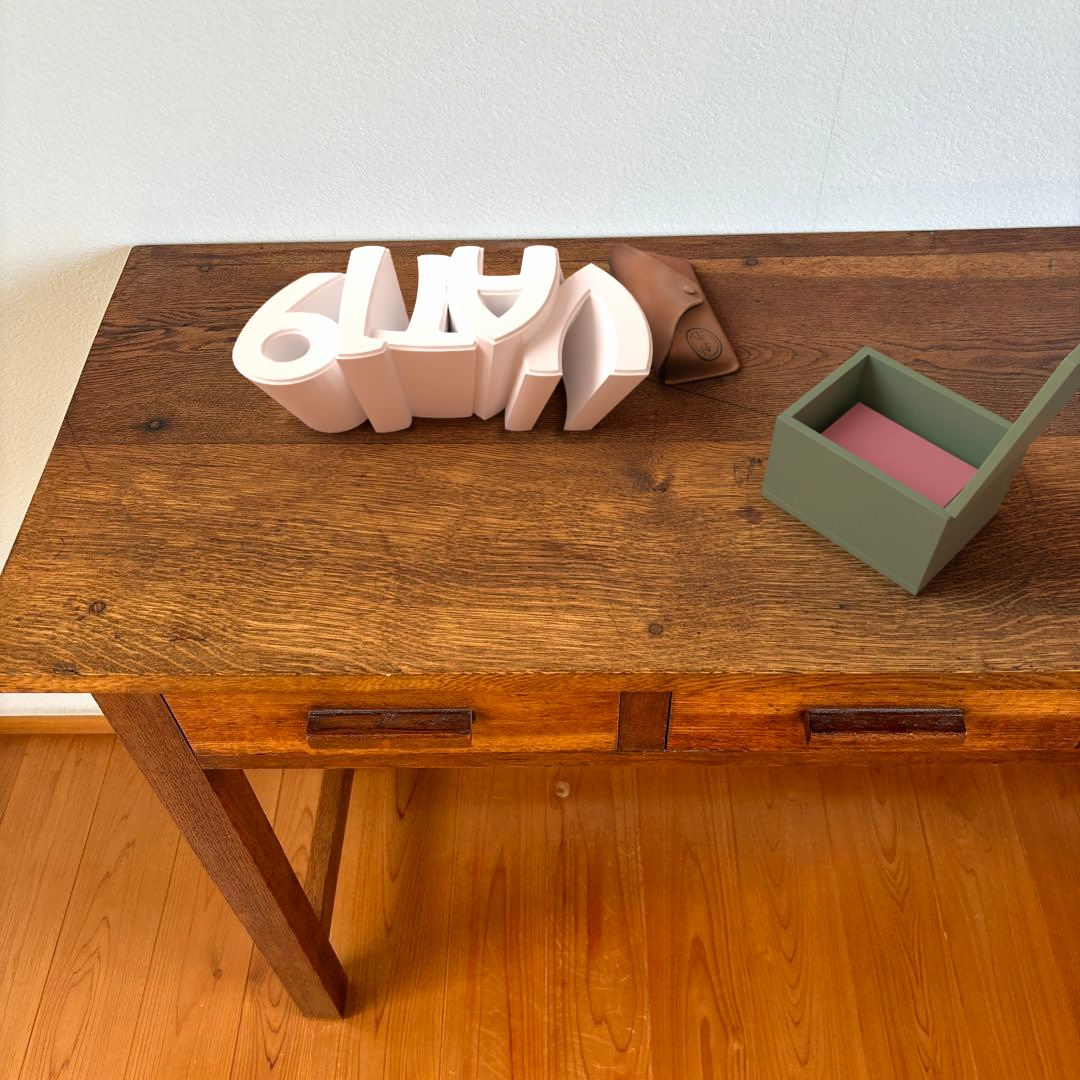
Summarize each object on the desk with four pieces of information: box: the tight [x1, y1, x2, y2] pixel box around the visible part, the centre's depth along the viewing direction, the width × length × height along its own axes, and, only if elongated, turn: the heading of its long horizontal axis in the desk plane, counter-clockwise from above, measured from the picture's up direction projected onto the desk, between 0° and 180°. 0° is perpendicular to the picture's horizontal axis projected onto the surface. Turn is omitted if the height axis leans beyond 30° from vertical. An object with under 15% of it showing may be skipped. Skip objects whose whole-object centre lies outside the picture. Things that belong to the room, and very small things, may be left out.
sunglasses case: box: [607, 242, 741, 386], centre depth 96 cm, size 18×7×7 cm
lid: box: [946, 343, 1080, 518], centre depth 65 cm, size 15×12×1 cm
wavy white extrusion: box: [232, 244, 653, 434], centre depth 88 cm, size 35×16×11 cm, turn 86°
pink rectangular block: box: [821, 402, 978, 508], centre depth 80 cm, size 11×7×4 cm, turn 44°
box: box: [760, 344, 1030, 596], centre depth 79 cm, size 15×12×9 cm
